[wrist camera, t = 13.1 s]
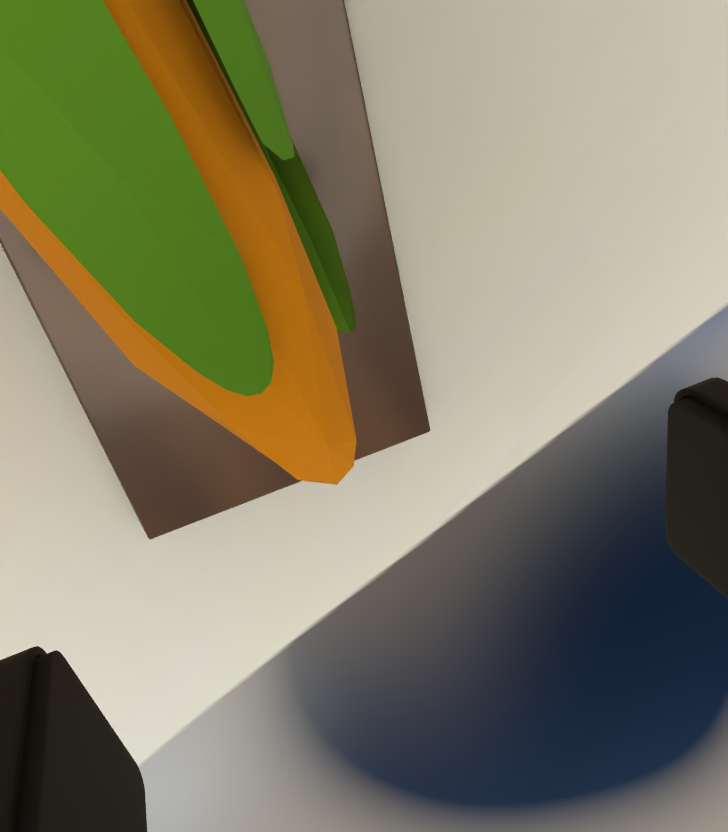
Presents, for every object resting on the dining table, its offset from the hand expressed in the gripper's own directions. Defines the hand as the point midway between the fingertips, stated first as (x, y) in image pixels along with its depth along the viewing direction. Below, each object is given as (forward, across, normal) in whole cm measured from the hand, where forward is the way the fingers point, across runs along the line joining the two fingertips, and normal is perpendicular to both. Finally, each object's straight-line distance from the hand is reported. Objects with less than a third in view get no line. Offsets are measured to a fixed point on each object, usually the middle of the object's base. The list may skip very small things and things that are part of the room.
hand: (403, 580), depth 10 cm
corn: (+14, +1, -4) cm, 15 cm away
